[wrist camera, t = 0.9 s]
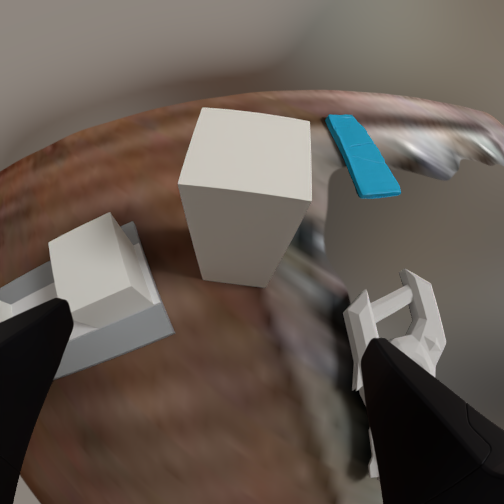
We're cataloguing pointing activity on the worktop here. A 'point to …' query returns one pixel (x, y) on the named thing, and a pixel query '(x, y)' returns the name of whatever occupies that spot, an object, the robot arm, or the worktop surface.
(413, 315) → the gun
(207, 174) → the block
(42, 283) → the board
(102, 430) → the worktop surface
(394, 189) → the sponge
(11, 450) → the robot arm
